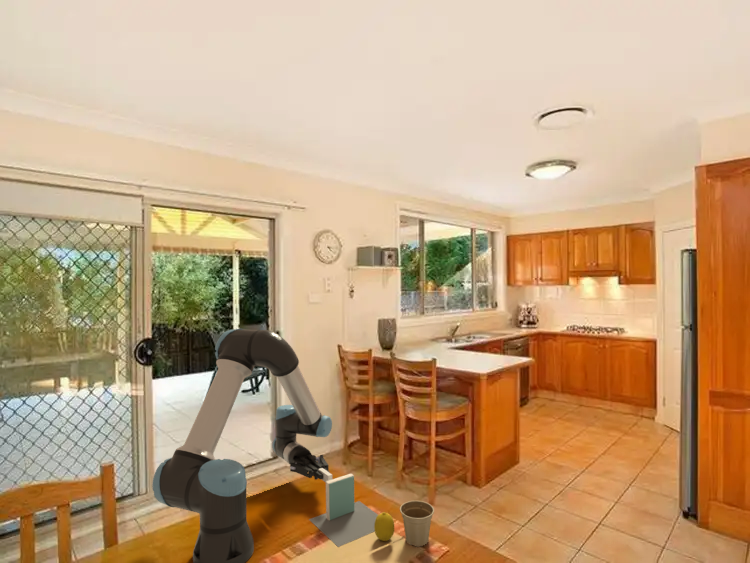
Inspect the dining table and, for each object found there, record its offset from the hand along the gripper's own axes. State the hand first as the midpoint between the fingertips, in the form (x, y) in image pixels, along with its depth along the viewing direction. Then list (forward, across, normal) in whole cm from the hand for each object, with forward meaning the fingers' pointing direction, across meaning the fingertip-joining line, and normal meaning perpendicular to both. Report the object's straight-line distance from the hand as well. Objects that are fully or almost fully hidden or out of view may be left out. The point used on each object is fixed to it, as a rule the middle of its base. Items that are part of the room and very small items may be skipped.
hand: (330, 479), depth 138 cm
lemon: (+25, -3, -9) cm, 26 cm away
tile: (+6, 0, -8) cm, 11 cm away
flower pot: (+30, -10, -9) cm, 33 cm away
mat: (+11, 0, -9) cm, 14 cm away
